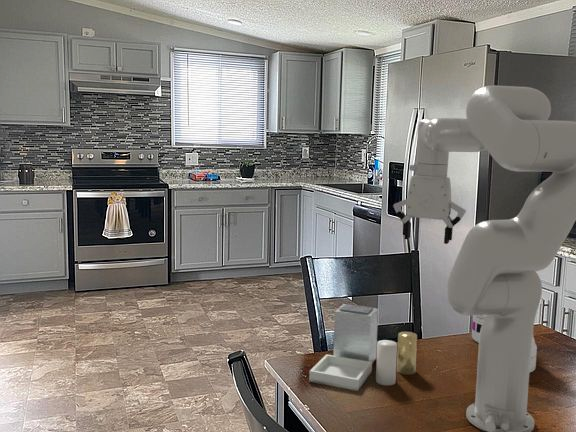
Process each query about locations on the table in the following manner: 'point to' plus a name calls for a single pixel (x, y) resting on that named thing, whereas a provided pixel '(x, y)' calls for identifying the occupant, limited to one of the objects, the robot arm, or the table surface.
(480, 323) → the supplement can
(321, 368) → the tray
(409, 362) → the cylinder
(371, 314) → the grey box
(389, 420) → the table surface
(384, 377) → the cylinder
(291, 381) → the table surface
